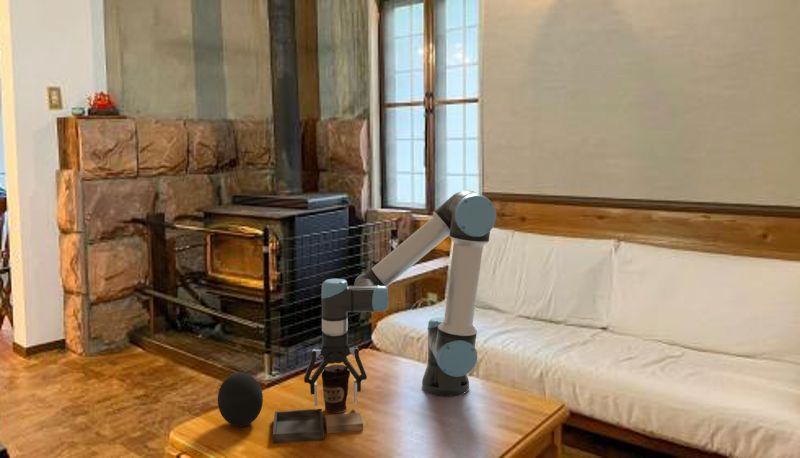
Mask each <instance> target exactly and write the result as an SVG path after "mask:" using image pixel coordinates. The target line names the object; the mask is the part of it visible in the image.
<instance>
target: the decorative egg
mask: <svg viewBox="0 0 800 458" xmlns="http://www.w3.org/2000/svg"><path fill="white" fill-rule="evenodd" d="M263 402H264V396H263V390H262V387H261V385H260V383H259V382H258V380H257V379H256V378H255V377H254V376H252V374H249V373H247V372H235V373H232V374H230V375H229V376H228V377H226V378H225V379H224V380H223V382H222V383H221V384H220V387H219V390H218V393H217V406H218V410H219V413H220V415H221V417H222V418H223V419H224V421H226V423H228V424H229V425H232V426H234V427H246V426H248V425H250V424H252V423H253V422H255V420H256V419H257V418H259V417H258V416H259V415H260V413H261V411H262V409H263Z"/></svg>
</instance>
